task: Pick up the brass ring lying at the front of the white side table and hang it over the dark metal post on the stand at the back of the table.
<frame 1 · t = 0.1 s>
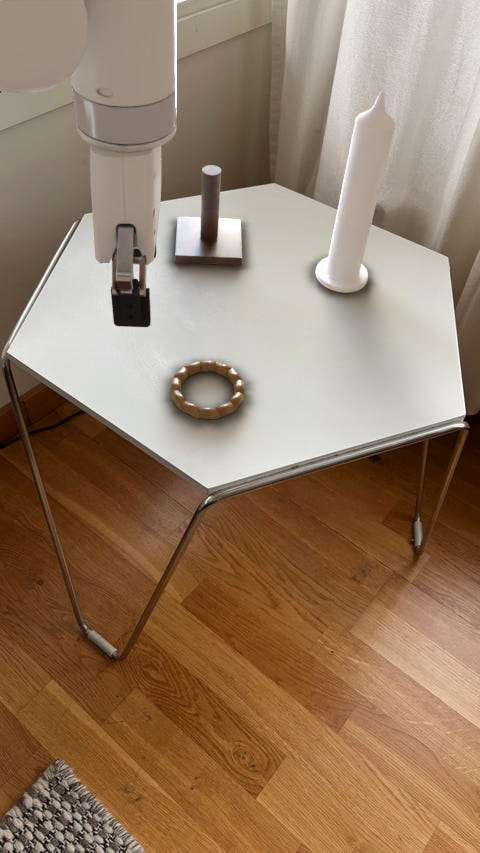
hand: (136, 289, 66), 17 cm above the table, tool pointing down, fingers open, 9 cm apart
ring: (207, 388, 80), point 1 cm above the table
candle: (341, 277, 96), on the table
post: (208, 243, 98), on the table
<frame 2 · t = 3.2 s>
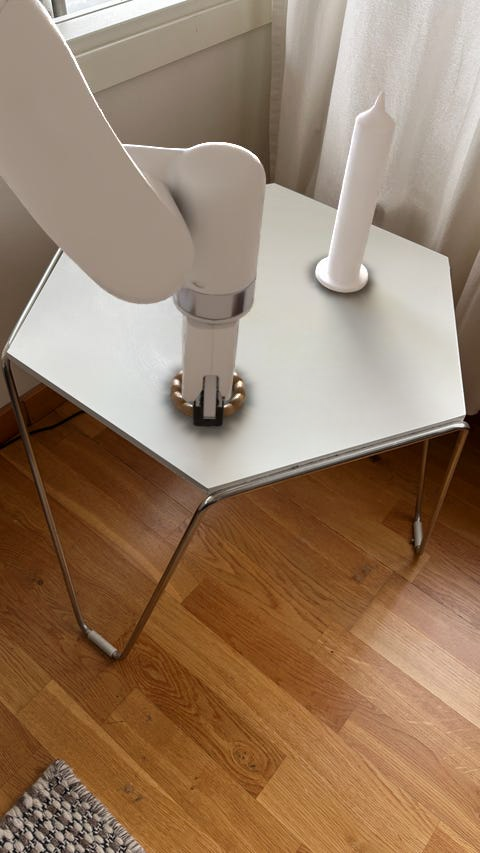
hand: (207, 415, 78), 0 cm above the table, tool pointing down, fingers closed on ring, 1 cm apart
ring: (207, 390, 80), point 1 cm above the table, touching gripper
everything else where it was.
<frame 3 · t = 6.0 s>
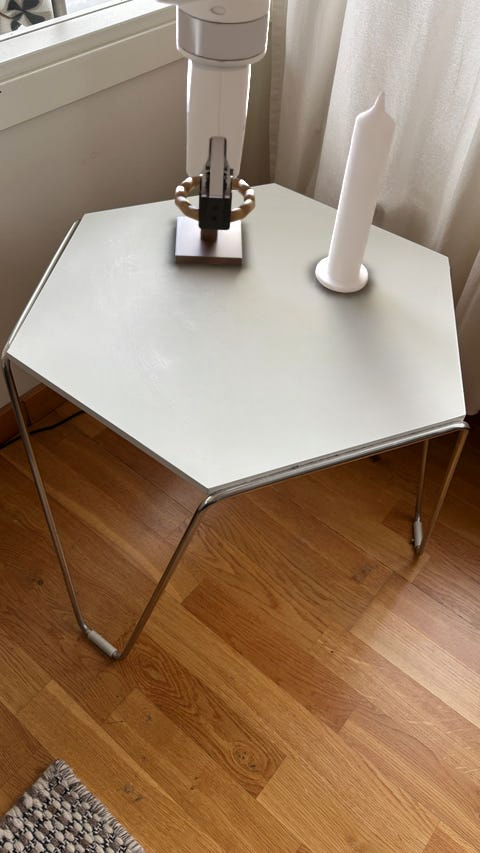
hand: (214, 220, 72), 17 cm above the table, tool pointing down, fingers closed on ring, 1 cm apart
ring: (215, 197, 74), point 18 cm above the table, touching gripper
everything else where it was.
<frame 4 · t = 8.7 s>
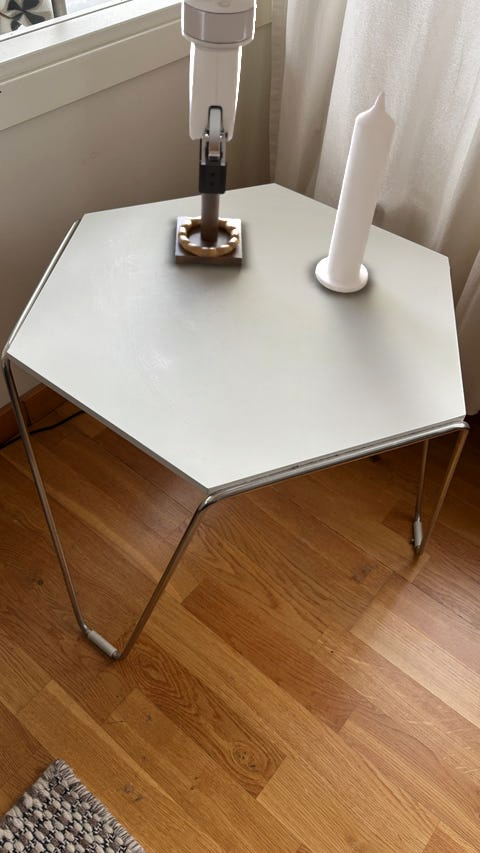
hand: (211, 177, 87), 12 cm above the table, tool pointing down, fingers open, 5 cm apart
ring: (208, 236, 97), point 2 cm above the table, touching post
everything else where it was.
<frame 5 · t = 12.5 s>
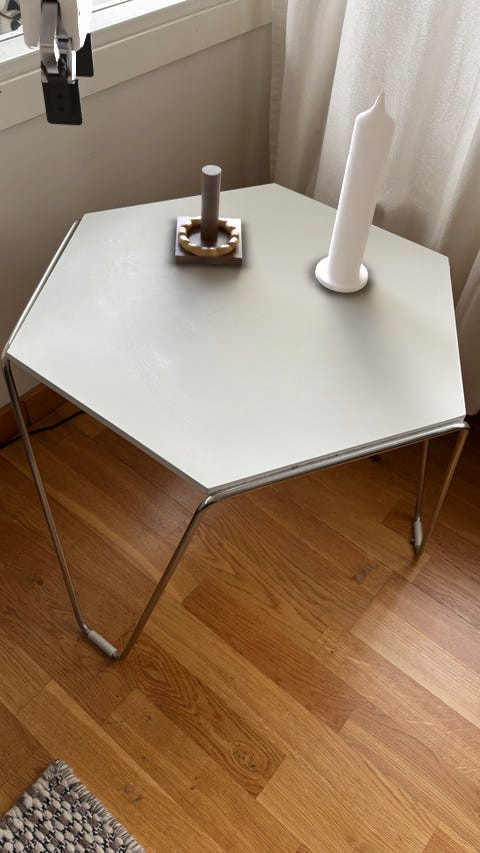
hand: (72, 98, 68), 26 cm above the table, tool pointing down, fingers open, 9 cm apart
nothing on the table moved.
at the end: ring 0.7 cm from the post (horizontally); ring point 1.8 cm above the table; the gripper is holding nothing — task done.
